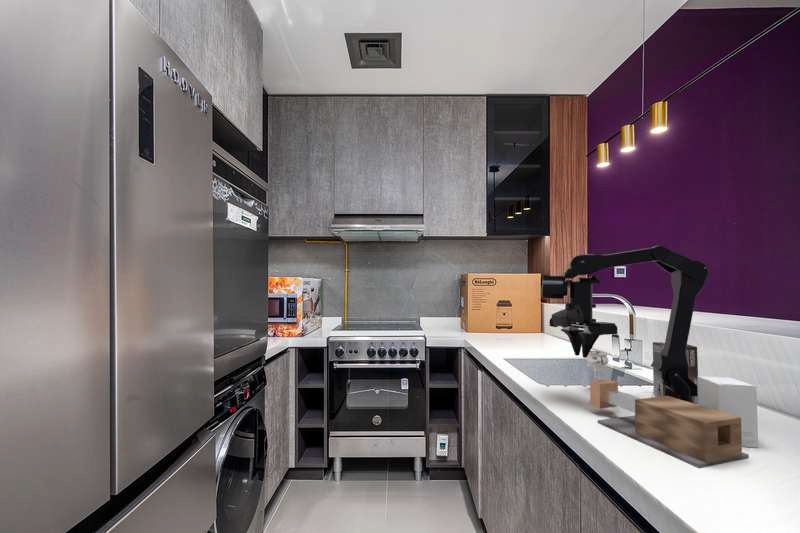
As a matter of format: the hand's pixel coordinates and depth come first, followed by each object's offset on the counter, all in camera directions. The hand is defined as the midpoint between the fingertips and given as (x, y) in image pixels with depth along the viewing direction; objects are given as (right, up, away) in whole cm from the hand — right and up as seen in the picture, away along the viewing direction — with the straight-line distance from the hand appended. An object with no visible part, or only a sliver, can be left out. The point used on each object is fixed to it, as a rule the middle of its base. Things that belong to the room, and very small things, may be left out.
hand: (580, 356), depth 101 cm
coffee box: (+30, -14, +6) cm, 34 cm away
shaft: (+5, -10, -15) cm, 19 cm away
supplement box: (+21, -13, -22) cm, 33 cm away
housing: (+7, -12, -22) cm, 26 cm away
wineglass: (+10, -14, +11) cm, 21 cm away
